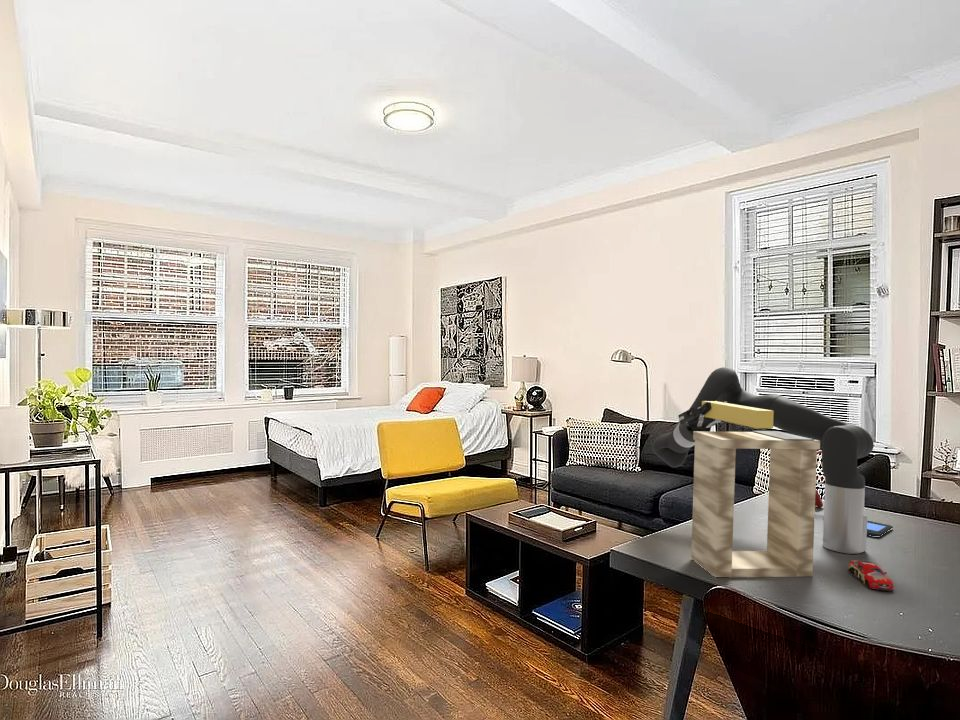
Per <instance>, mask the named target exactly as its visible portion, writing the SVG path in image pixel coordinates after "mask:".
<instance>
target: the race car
mask: <svg viewBox="0 0 960 720" xmlns="http://www.w3.org/2000/svg"><path fill="white" fill-rule="evenodd" d="M848 563H849V564H848V572H849V574H850V575H851V574H852V576H853V577H854V578H856V579H857V580H858V581H860V582H861V583H862V584H863V585H864V586H865V585H866V586H867V588H868V589H871V588H872V589H873V590H877V591H886V592H887V591H889V592H890V591H893V590H894V586H895V585H894V582H893V581H892V580H891V579H890V577H888V576H887V574H888V572H884V571H883V570H882V568H881V567H880V566H878V564H877V565H876V563H874V562H873V561H867V560H866V561H865V560H852V559H851V560H850V561H849V562H848ZM866 586H865V587H866Z"/></svg>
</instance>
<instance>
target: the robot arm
mask: <svg viewBox="0 0 960 720" xmlns="http://www.w3.org/2000/svg"><path fill="white" fill-rule="evenodd" d="M702 401H717V402H723V403H729V404H736V405H742V406H748V407H754V408H760V409H766V410H772V411H774V415H773V427H775V428H777V429H779V430H782V431H783V432H786V433H789V434H793V435H797V436H801V437H806V438H810V439H815V440H819V441H820V442H821V451H822V453H821V468H822V469H821V470H822V473H823V475H824V497H823V498H824V502H823V524H822V525H823V527H822V532H823V533H822V546H823V547H824V548H825V549H827V550H830V551H833V552H836V553H837V552H838V553H843V554H855V555H857V554H861V553H863V552H864V551H866V552H867V538H868V536H867V521H868V515H865V495H866V494H865V492H866V477H865V476H864V475H863V474H860V472H859V469H858V460H859V459H863V458H865V457H867V456H869V455H870V454H871V453H872V451H873V449H874V440H873V437H872V435H871V434H870V433H869V432H868V431H867V430H866V429H865V428H863V427H862V426H859V425H856V424H853V423H849V422H846V421H842V420H838V419H836V418H832V417H829V416H827V415H825V414H822V413H821V412H818V411H817V410H814V409H812V408H810V407H808V406H806V405H804V404H801V403H799V402H797V401H794V400H792V399H791V398H788V397H785V396H782V395H780V394H775V393H772V394H771V393H769V394H762V395H755V394H752V392H751V393H750V392H749V391H746V390H744V389H743V388H742V386H741V384H740V379H739V376H738V374H737V371H735V370H734V369H733V368H731V367H728V366H727V367H725V366H724V367H719V368H716V369H714V370H713V371H711V373H710V374H709V375H708V377H707V379H706V380H705V382H704V384H703V386H702V387H701V389H700V391H699V393H698V394H697V396H696V397H695V399H694V401H693V403H692V404H691V406H689V407H690V408H689V409H687V410H686V411H684V412H682V413H680V414H678V416H677V417H678V419H679V421H678V422H676V424H675V425H674V426H673V429H672V431H671V432H667V433H666V432H665V433H663V434H661V435H660V436H658V437H656V438H655V440H654V441H653V442H652V444H651V448H652V452H653V453H654V454H655V456H657V457H658V458H659V459H661V460H662V461H663V462H664V463H666V465H668V466H669V467H671V468H675V469H676V468H679V467H681V466H682V465H683V464H684V463H685V461H686V459H687V456H688V454H689V452H690V449H692V448H693V447H695V440H694V439H693V431H711V429H712V427H713V426H716V425H717V424H719V423H721V424H722V425H724V426H726V425H727V424H728V422H726V421H722V420H717V419H713V418H708V417H704V415H706V414H707V413H708V412H709V411H710V410H711V402H706V403H705V404H703V405H702Z"/></svg>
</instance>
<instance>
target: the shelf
mask: <svg viewBox="0 0 960 720" xmlns="http://www.w3.org/2000/svg"><path fill="white" fill-rule="evenodd" d="M693 439H694V440H695V445H694V459H693V461H694V463H693V487H692V489H693V490H692V493H693V494H692V517H691V518H692V520H691V521H692V522H691V525H692V527H691V552H690V553H691V555H690V559H691V558H692V559H693V560H694V561H696V562H697V563H698V564H700V565H701V566H702V567H703V568H705V569H706V570H707V571H708V572H710V573H711V574H712V575H713V576H715V577H729V578H772V577H773V578H777V577H778V578H786V577H789V578H790V577H791V578H792V577H793V578H795V577H813V571H814V567H813V566H814V544H815V543H814V542H815V516H816V515H815V514H816V513H815V511H816V507H815V491H816V490H817V489H816V486H817V485H816V484H817V462H818V461H817V459H818V458H817V457H818V454H817V452H818V450H821V441H820V440H818V439H815V438H811V437H807V436H802V435H798V434H794V433H789V432H785V431H783V432H782V431H778V430H752V431H713V430H712V431H711V430H710V431H693ZM738 449H740V450H741V449H744V450H745V449H750V450H754V449H756V450H758V449H759V450H769V477H768V478H769V480H768V481H769V482H768V503H767V504H768V506H767V508H768V509H767V511H768V512H767V533H766V537H767V538H766V539H767V540H766V550H733V543H734V540H733V538H734V514H735V513H734V511H735V509H734V508H735V507H734V506H735V485H736V482H735V481H736V480H735V479H736V458H737V457H736V455H737V452H736V451H737V450H738ZM694 561H693V562H694ZM698 564H697V565H698ZM702 567H701V568H702ZM703 568H702V569H703ZM706 570H705V571H706ZM707 571H706V572H707ZM708 572H707V573H708ZM711 574H710V575H711ZM712 575H711V576H712ZM713 576H712V577H713ZM715 577H714V578H715Z"/></svg>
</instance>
